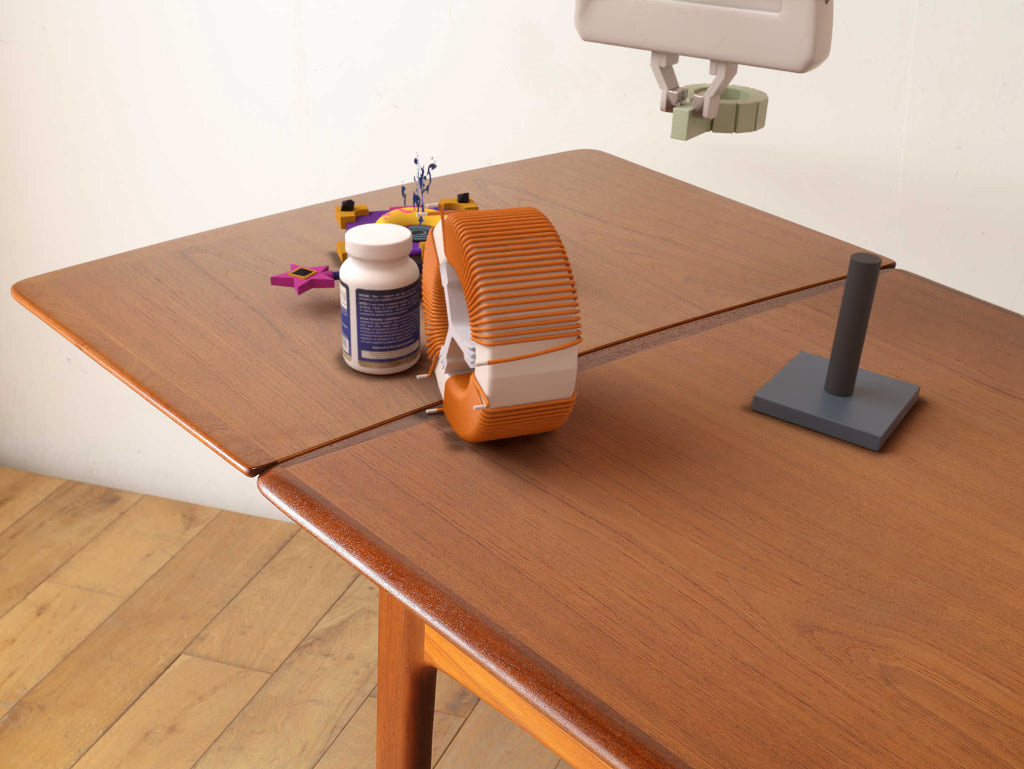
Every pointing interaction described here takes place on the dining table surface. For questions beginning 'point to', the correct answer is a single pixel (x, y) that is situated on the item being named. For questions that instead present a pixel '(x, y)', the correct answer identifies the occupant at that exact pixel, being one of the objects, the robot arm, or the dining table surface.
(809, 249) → the dining table surface
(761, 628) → the dining table surface
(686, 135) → the tabbed ring on plate
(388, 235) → the pill bottle
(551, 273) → the coil
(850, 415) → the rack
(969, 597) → the dining table surface
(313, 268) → the purple yellow toy
